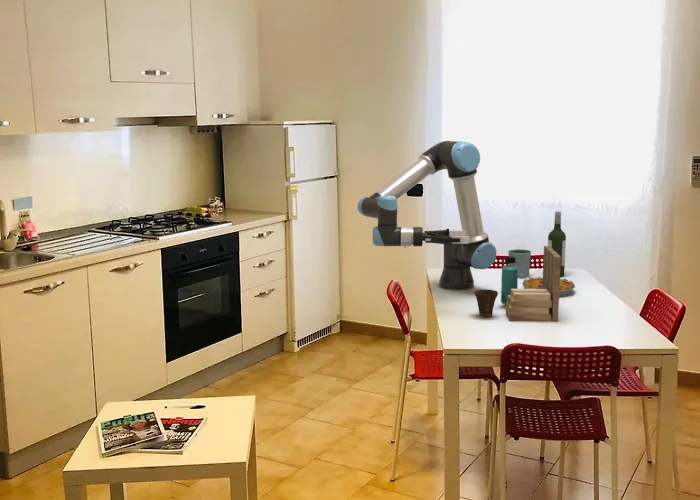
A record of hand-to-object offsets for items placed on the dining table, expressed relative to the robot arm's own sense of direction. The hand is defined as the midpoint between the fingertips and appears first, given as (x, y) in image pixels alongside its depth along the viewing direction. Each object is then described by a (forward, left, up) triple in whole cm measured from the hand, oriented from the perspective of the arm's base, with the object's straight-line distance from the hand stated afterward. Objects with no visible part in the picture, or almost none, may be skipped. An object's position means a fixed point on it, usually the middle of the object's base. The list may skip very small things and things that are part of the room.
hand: (467, 237), depth 289 cm
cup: (+14, +6, -28) cm, 32 cm away
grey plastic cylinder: (-55, +29, -28) cm, 68 cm away
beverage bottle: (0, +17, -28) cm, 32 cm away
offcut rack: (+9, +23, -28) cm, 37 cm away
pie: (-26, +37, -28) cm, 53 cm away
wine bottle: (-57, +46, -28) cm, 78 cm away
